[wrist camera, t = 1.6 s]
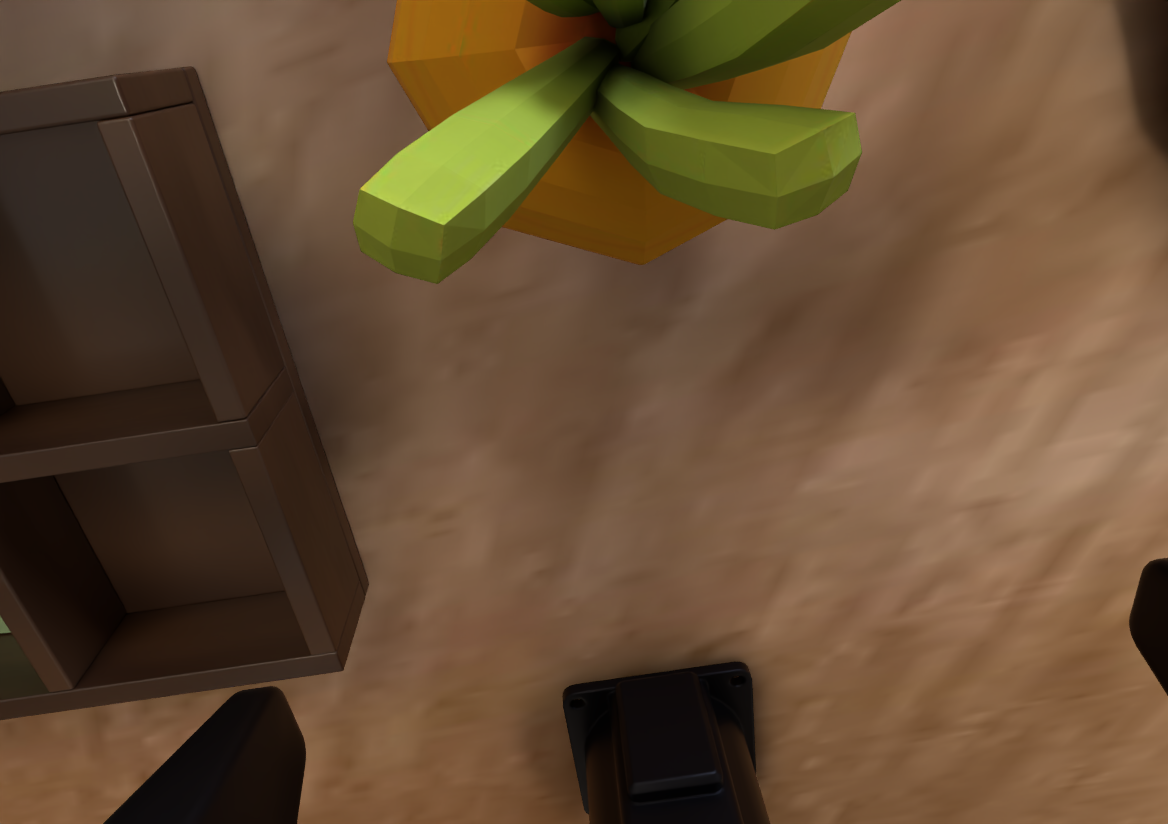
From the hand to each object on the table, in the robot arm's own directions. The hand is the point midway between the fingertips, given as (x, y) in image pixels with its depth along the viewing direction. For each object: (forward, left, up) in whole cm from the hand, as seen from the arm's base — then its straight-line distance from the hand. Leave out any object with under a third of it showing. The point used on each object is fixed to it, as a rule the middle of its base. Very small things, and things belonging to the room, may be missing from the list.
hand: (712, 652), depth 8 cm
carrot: (+6, 0, -13) cm, 15 cm away
